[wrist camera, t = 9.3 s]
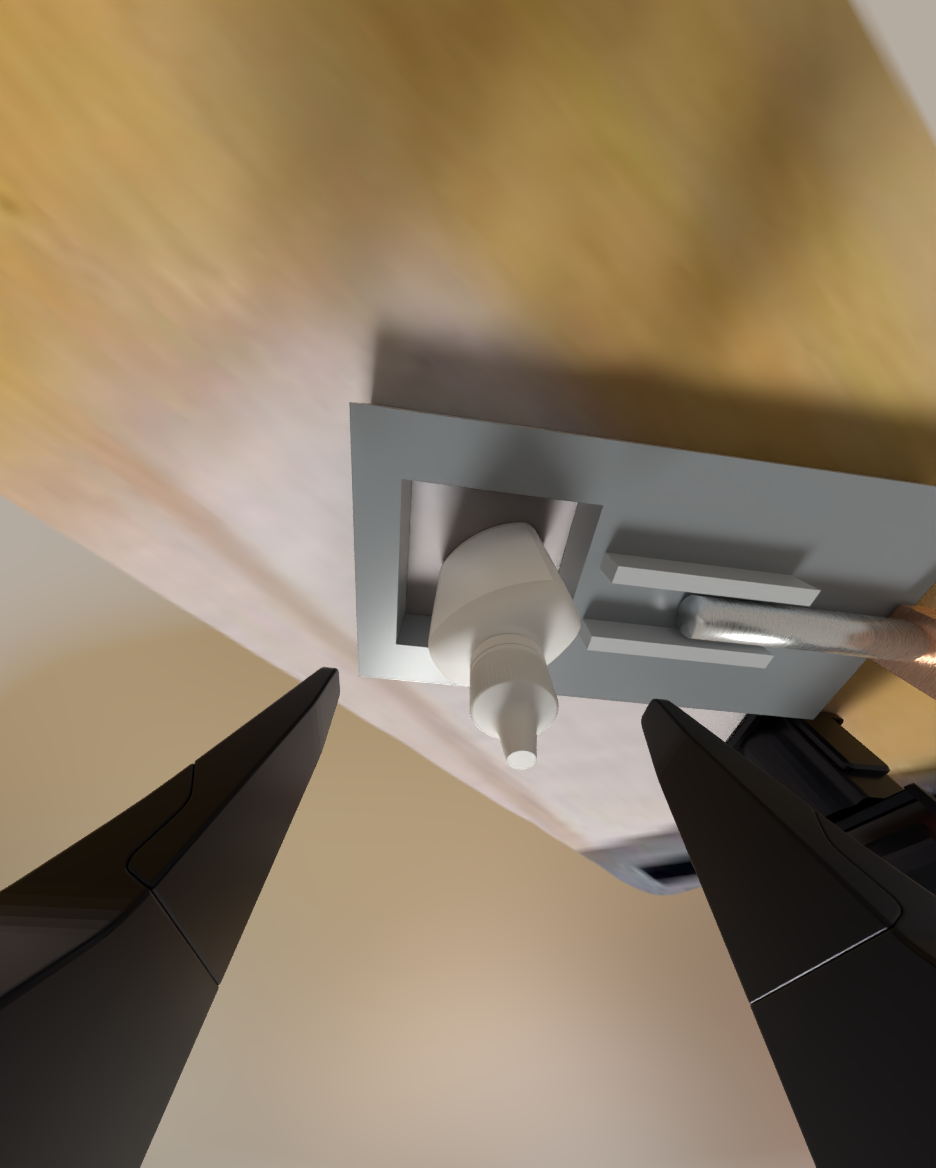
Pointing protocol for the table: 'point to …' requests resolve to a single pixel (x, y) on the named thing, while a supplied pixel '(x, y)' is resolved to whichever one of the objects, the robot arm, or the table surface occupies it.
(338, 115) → the table surface
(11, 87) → the table surface
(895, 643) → the lock pin
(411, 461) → the dock block
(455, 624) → the eye dropper bottle
